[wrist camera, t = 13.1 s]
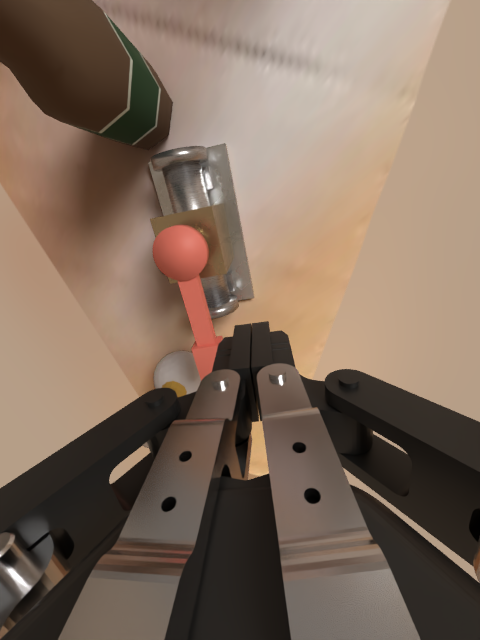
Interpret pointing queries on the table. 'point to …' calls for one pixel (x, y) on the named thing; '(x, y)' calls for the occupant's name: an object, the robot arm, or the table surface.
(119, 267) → the table surface
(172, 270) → the lever
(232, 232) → the valve
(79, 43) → the beer bottle
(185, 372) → the perfume bottle
